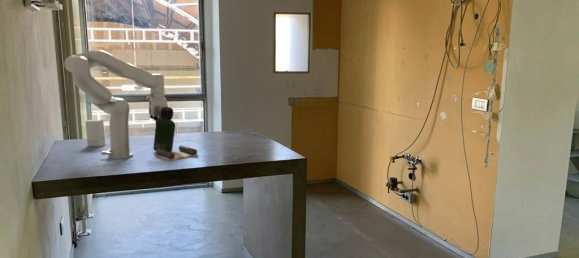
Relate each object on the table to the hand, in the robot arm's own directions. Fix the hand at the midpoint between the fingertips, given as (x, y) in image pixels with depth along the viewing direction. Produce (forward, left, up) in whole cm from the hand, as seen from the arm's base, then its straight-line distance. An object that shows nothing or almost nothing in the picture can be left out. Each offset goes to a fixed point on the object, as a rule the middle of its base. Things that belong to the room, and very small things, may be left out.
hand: (158, 127), depth 250 cm
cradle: (0, -19, -14) cm, 23 cm away
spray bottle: (0, -4, -13) cm, 13 cm away
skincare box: (-21, +37, -14) cm, 45 cm away
